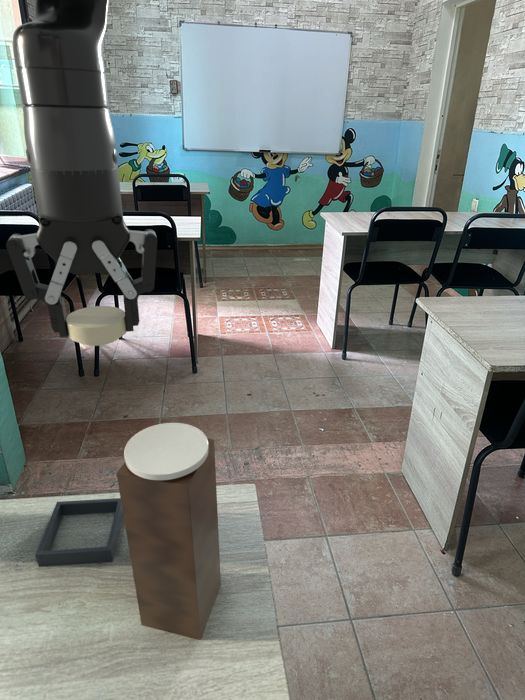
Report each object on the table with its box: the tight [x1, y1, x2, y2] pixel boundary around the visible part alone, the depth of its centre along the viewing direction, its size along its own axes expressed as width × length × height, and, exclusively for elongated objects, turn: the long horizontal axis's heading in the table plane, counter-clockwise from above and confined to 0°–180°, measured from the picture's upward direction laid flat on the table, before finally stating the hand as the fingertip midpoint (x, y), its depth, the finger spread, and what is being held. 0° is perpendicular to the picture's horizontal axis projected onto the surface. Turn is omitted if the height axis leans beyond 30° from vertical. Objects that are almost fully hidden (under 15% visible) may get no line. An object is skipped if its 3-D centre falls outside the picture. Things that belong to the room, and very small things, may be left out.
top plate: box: [66, 305, 127, 347], centre depth 51 cm, size 6×6×2 cm
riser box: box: [116, 437, 222, 641], centre depth 58 cm, size 8×8×26 cm
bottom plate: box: [123, 422, 209, 480], centre depth 52 cm, size 9×9×1 cm
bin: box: [35, 497, 124, 568], centre depth 73 cm, size 10×10×4 cm
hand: (97, 331), depth 51 cm, fingers closed on top plate, 6 cm apart
